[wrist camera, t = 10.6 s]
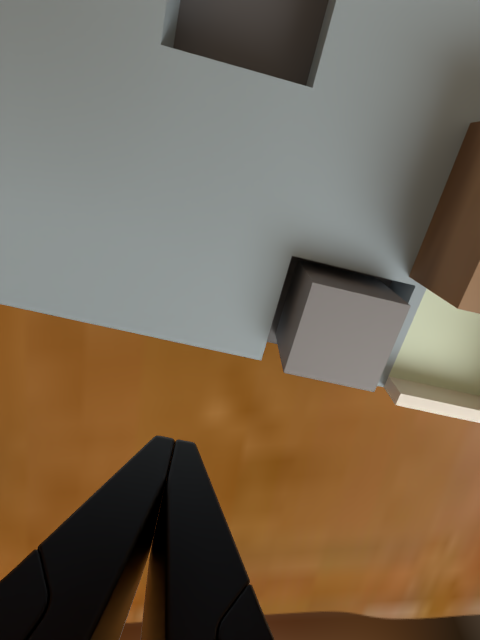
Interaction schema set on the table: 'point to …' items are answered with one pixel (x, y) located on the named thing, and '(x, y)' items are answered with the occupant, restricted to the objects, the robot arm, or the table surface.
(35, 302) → the deck
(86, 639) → the robot arm
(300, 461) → the table surface
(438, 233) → the walnut block
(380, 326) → the gray block
